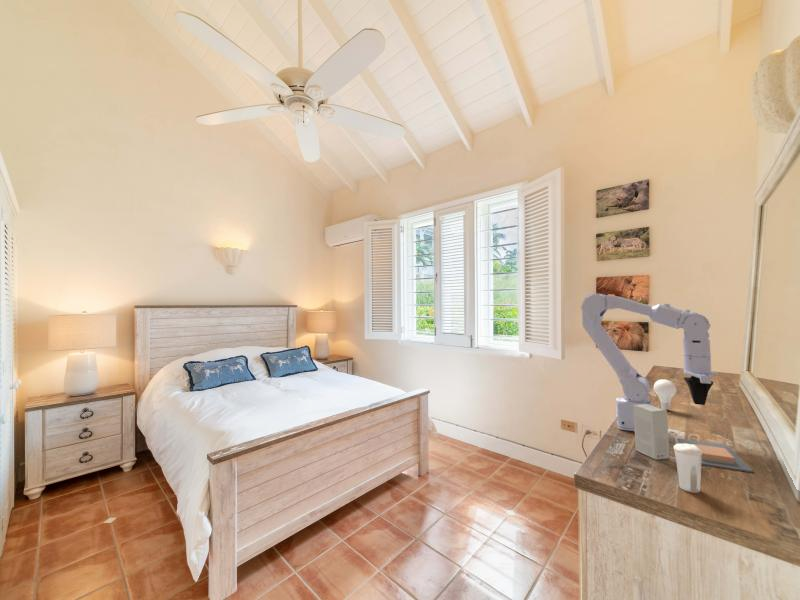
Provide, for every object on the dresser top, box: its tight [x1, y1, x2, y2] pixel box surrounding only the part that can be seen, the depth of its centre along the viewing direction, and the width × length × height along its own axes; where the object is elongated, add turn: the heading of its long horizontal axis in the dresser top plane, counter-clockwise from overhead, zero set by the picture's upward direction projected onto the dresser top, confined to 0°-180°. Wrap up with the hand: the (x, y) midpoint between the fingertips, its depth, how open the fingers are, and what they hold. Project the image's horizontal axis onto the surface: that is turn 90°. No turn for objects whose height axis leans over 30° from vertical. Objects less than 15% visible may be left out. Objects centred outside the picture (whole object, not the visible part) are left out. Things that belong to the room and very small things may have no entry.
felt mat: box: [673, 437, 755, 474], centre depth 84 cm, size 11×16×1 cm
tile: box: [694, 444, 735, 465], centre depth 82 cm, size 6×2×6 cm
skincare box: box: [633, 404, 670, 460], centre depth 85 cm, size 6×4×12 cm
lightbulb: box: [653, 378, 677, 411], centre depth 120 cm, size 6×6×11 cm
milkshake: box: [673, 434, 702, 494], centre depth 69 cm, size 4×5×10 cm
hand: (699, 404), depth 94 cm, fingers closed
